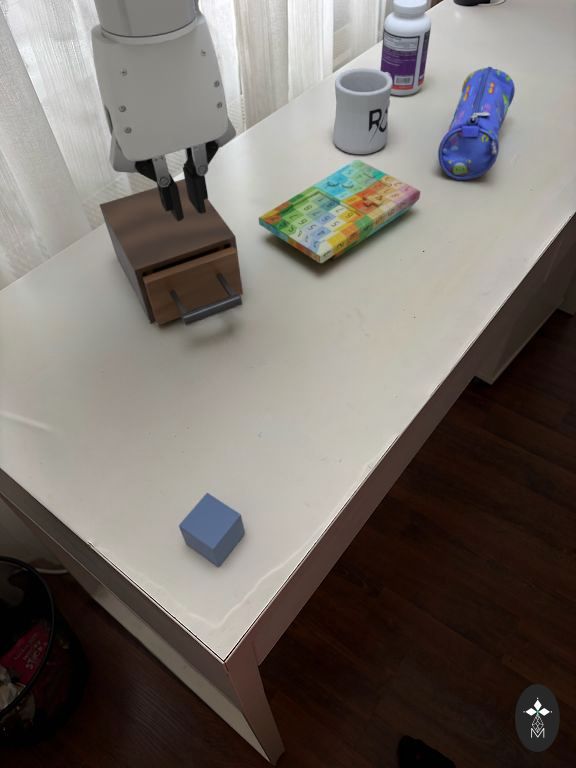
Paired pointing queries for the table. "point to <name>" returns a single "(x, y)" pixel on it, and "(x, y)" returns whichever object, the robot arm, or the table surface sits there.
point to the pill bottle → (406, 45)
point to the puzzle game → (340, 211)
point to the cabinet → (160, 235)
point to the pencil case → (476, 124)
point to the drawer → (195, 286)
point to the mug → (362, 110)
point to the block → (212, 529)
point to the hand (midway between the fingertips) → (186, 209)
